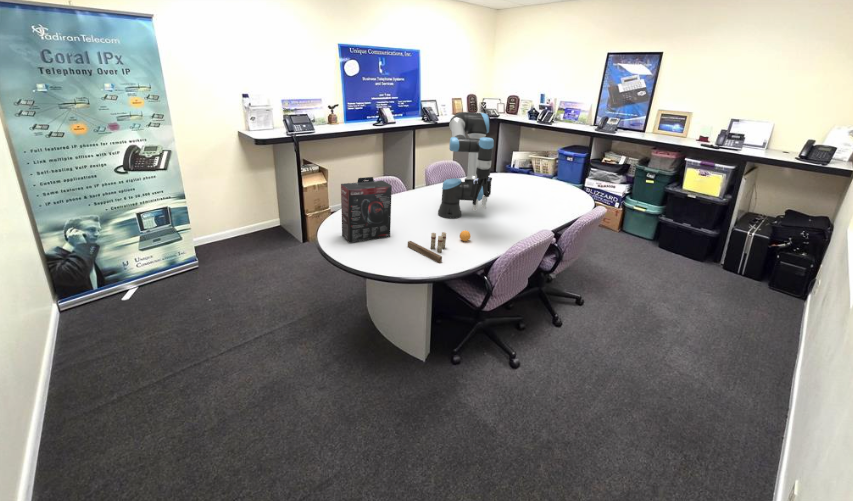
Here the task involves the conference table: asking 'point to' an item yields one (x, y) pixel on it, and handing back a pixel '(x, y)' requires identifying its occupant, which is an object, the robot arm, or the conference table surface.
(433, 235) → the pin
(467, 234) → the ball
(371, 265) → the conference table surface
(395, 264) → the conference table surface
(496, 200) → the conference table surface
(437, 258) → the back wall
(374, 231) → the headset box
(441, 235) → the front pin
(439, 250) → the pin
